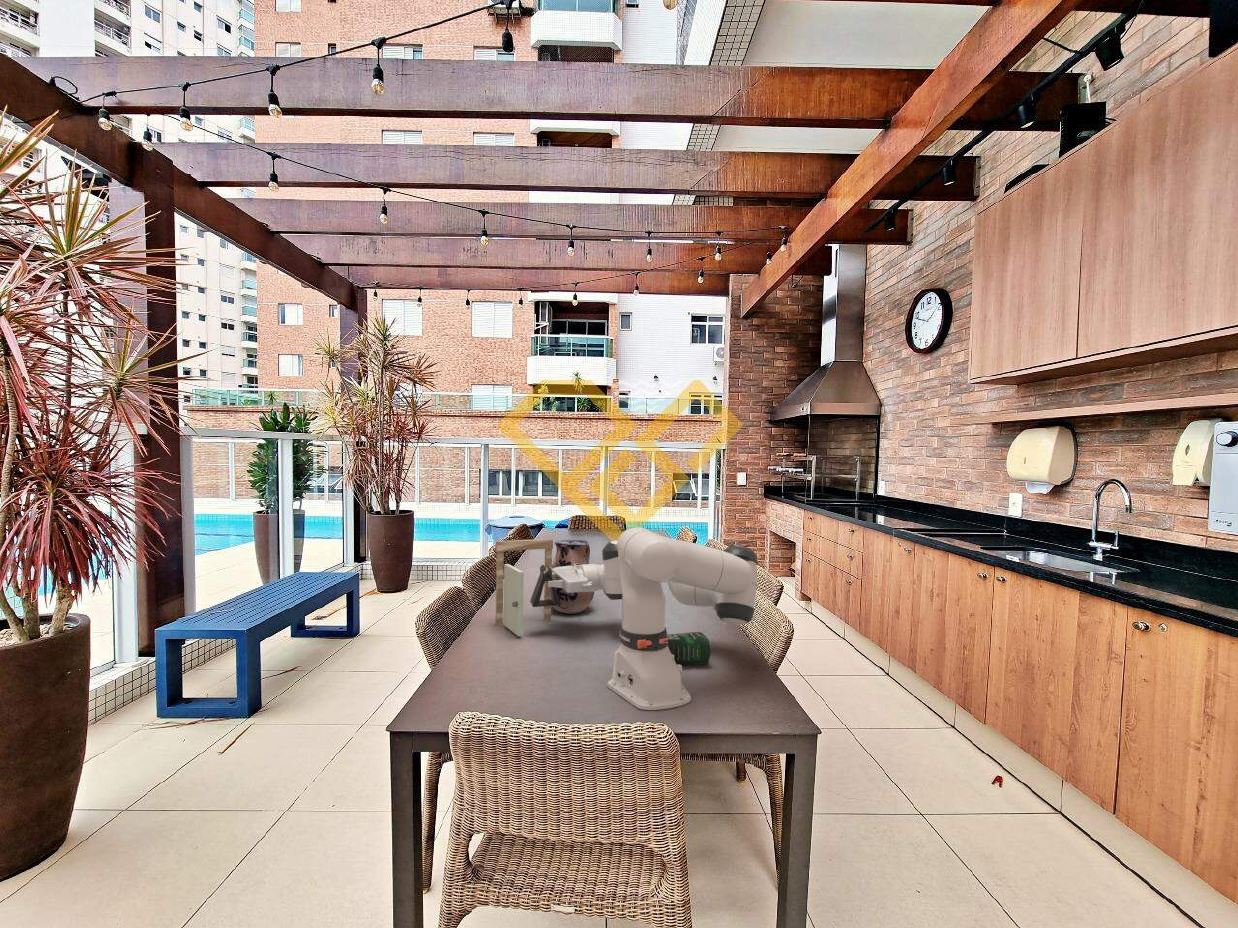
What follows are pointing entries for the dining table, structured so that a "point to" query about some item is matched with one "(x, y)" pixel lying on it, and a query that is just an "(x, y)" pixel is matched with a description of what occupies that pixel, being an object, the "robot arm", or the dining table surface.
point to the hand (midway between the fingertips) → (544, 581)
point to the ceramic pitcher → (568, 556)
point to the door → (513, 599)
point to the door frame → (500, 549)
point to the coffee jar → (689, 648)
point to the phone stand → (539, 587)
